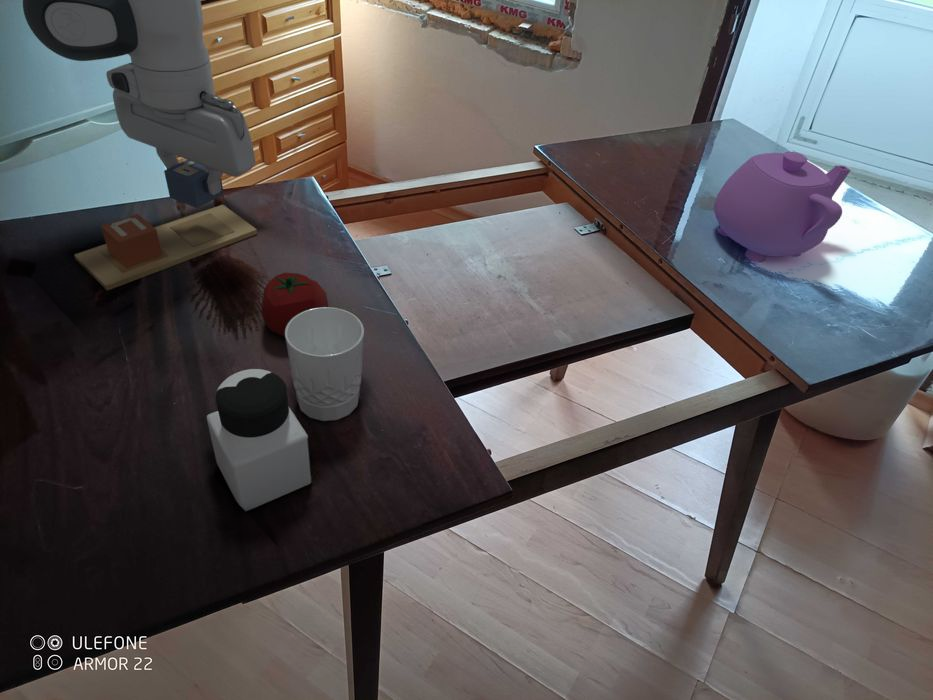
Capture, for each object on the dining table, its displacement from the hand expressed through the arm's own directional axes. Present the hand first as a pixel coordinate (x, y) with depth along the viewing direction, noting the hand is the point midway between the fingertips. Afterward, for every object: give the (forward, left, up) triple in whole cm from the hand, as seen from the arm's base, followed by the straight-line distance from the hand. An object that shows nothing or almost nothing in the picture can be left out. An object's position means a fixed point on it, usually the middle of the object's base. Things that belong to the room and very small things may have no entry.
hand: (195, 185), depth 93 cm
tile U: (0, -10, -7) cm, 12 cm away
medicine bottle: (+42, -18, -8) cm, 46 cm away
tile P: (0, 0, -2) cm, 2 cm away
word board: (0, -5, -8) cm, 9 cm away
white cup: (+38, -7, -8) cm, 39 cm away
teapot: (+57, +68, -8) cm, 89 cm away
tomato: (+25, -2, -8) cm, 26 cm away
